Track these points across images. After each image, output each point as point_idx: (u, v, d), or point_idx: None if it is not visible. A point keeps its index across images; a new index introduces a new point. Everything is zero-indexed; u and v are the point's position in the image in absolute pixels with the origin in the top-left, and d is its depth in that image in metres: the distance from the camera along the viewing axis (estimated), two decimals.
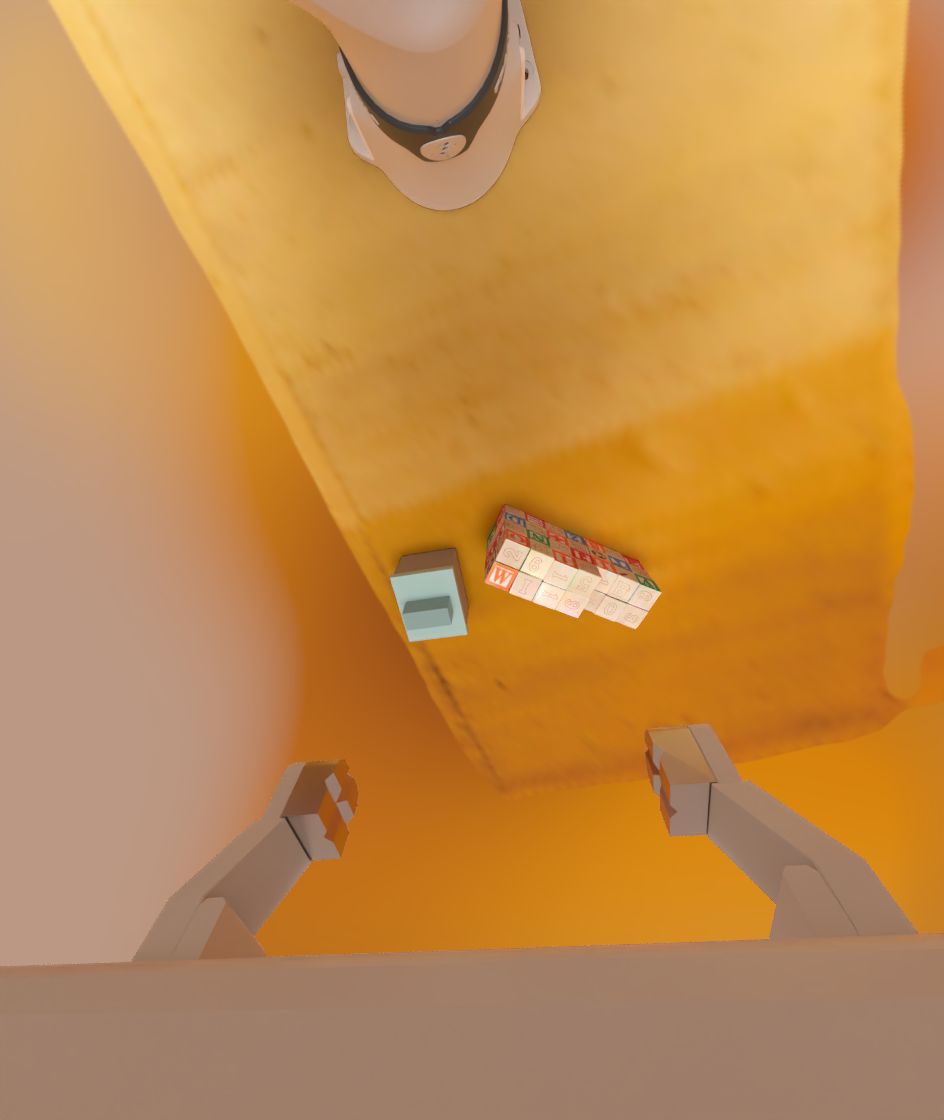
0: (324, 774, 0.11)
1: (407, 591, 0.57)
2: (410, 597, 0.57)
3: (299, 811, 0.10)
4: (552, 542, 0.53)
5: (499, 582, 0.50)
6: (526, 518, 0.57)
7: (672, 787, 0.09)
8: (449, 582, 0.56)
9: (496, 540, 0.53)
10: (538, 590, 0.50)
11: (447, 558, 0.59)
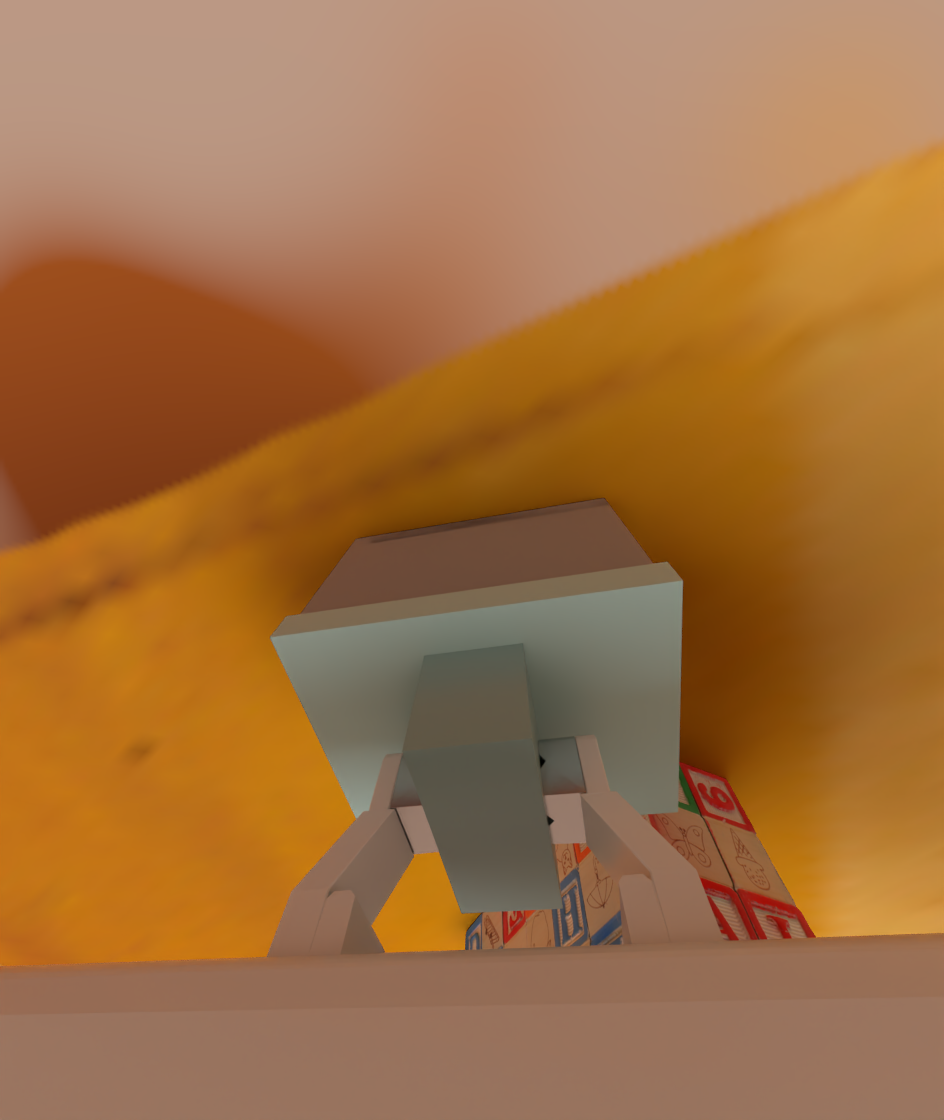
0: None
1: (585, 654, 0.11)
2: (548, 663, 0.11)
3: (408, 802, 0.10)
4: None
5: None
6: None
7: (545, 797, 0.09)
8: None
9: (758, 921, 0.16)
10: None
11: None
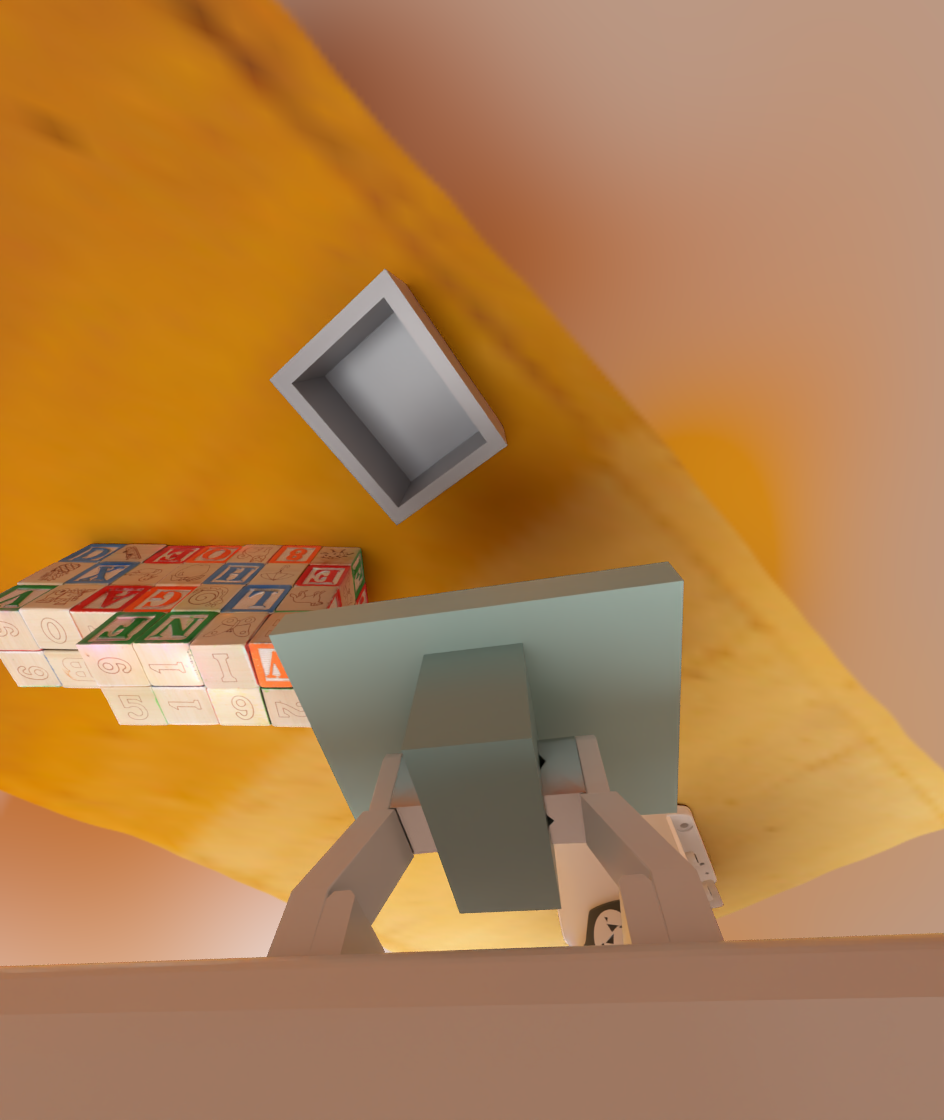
0: None
1: (585, 653, 0.11)
2: (548, 663, 0.11)
3: (408, 802, 0.10)
4: None
5: None
6: None
7: (545, 797, 0.09)
8: None
9: None
10: (196, 667, 0.23)
11: None
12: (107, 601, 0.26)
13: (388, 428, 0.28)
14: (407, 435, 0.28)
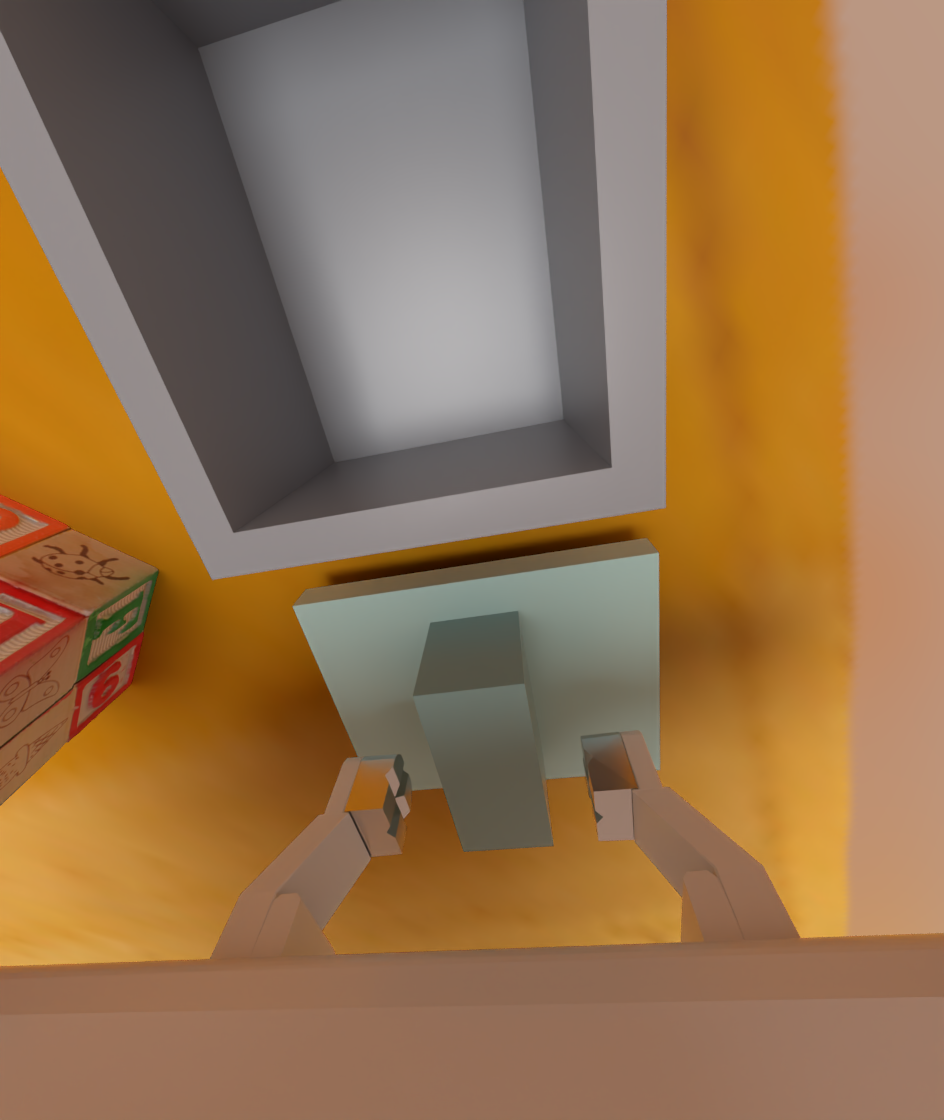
0: (383, 769, 0.11)
1: (573, 620, 0.12)
2: (541, 629, 0.13)
3: (363, 806, 0.10)
4: None
5: None
6: None
7: (595, 793, 0.09)
8: None
9: None
10: None
11: None
12: None
13: (329, 308, 0.10)
14: (370, 350, 0.11)
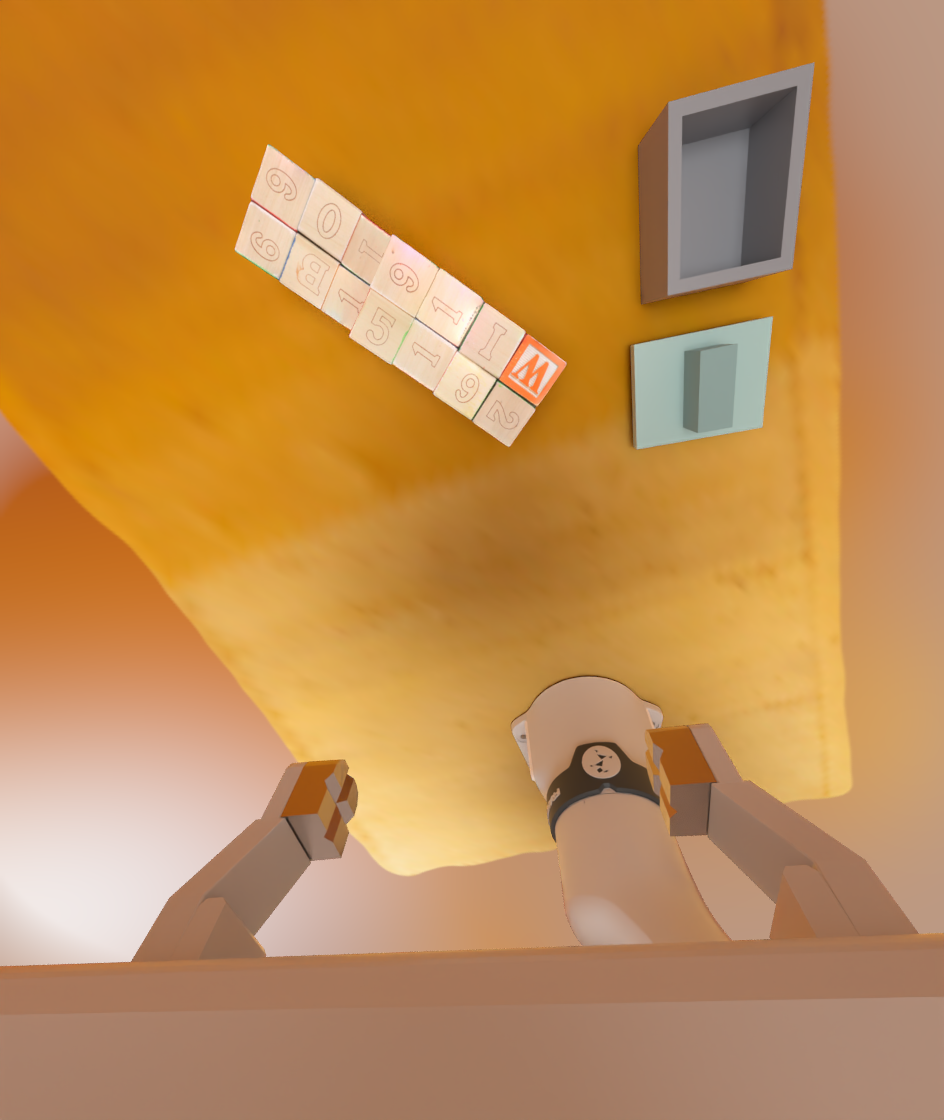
0: (324, 774, 0.11)
1: (738, 348, 0.34)
2: None
3: (299, 811, 0.10)
4: None
5: (540, 357, 0.26)
6: None
7: (672, 787, 0.09)
8: (739, 421, 0.36)
9: None
10: (468, 326, 0.26)
11: (666, 297, 0.32)
12: None
13: None
14: None
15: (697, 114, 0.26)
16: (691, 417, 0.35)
